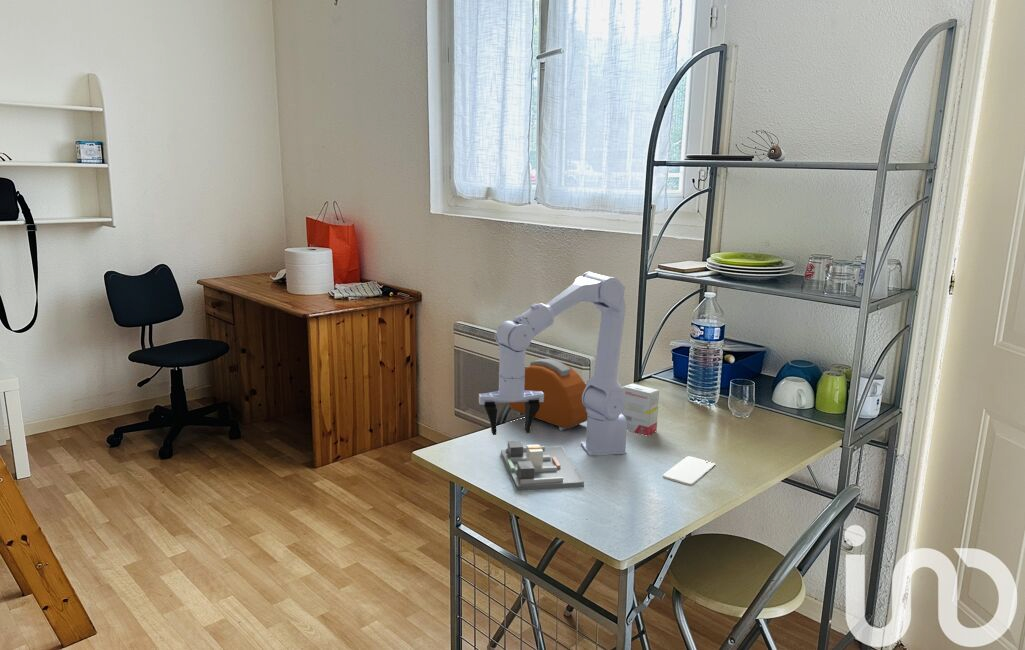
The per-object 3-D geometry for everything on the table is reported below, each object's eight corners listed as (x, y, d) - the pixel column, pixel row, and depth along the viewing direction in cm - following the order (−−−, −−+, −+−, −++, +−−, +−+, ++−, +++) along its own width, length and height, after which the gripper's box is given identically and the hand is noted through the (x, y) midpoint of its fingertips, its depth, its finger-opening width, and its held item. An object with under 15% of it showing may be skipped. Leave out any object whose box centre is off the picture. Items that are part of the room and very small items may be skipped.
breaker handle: (538, 460, 176) (539, 443, 175) (542, 467, 173) (543, 450, 172) (526, 461, 176) (526, 444, 175) (529, 468, 172) (530, 451, 171)
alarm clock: (592, 427, 202) (595, 367, 198) (570, 435, 196) (573, 373, 192) (528, 405, 218) (530, 349, 214) (506, 412, 212) (507, 354, 208)
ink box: (657, 431, 200) (660, 389, 197) (648, 437, 196) (651, 393, 193) (629, 423, 205) (631, 382, 202) (619, 428, 201) (622, 386, 199)
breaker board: (561, 451, 186) (561, 435, 185) (583, 487, 167) (584, 469, 166) (500, 454, 183) (501, 438, 182) (516, 491, 164) (517, 473, 163)
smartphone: (716, 463, 180) (691, 484, 168) (716, 466, 180) (691, 487, 169) (687, 455, 184) (661, 475, 173) (687, 458, 185) (661, 478, 173)
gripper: (539, 368, 174) (537, 424, 177) (476, 371, 171) (476, 427, 174) (546, 377, 167) (544, 435, 170) (482, 380, 164) (481, 439, 167)
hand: (510, 432), depth 172 cm, fingers open, 7 cm apart
